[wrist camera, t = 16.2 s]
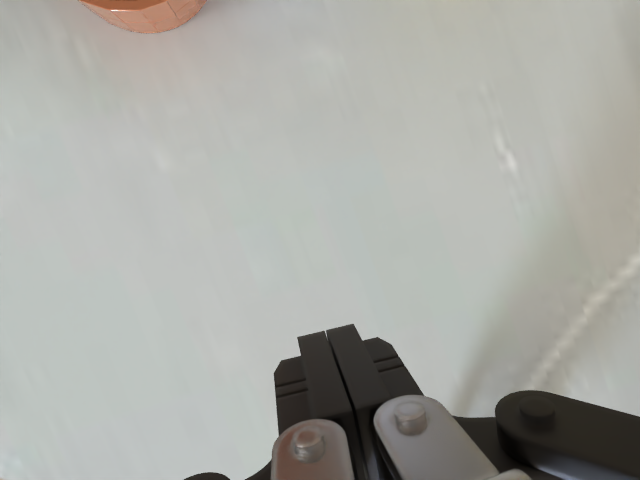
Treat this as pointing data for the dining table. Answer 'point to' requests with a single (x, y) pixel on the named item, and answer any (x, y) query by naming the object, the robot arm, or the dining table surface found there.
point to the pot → (145, 13)
